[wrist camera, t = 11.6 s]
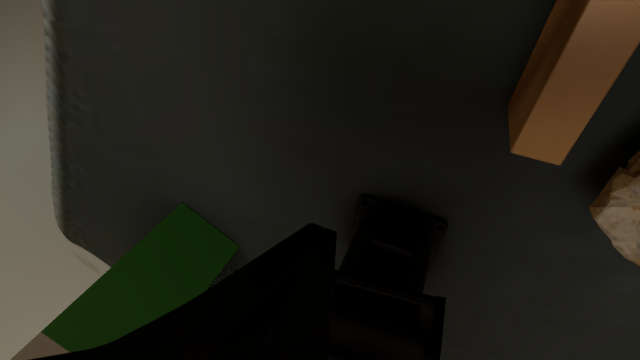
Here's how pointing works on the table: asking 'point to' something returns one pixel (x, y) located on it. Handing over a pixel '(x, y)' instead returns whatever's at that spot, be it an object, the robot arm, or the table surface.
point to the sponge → (621, 210)
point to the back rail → (570, 74)
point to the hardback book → (140, 286)
